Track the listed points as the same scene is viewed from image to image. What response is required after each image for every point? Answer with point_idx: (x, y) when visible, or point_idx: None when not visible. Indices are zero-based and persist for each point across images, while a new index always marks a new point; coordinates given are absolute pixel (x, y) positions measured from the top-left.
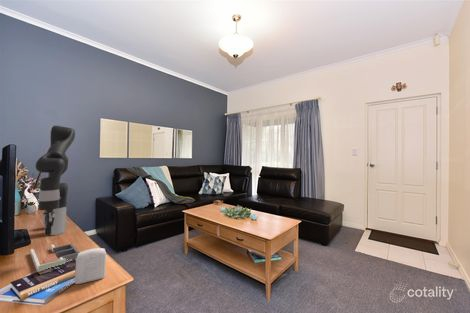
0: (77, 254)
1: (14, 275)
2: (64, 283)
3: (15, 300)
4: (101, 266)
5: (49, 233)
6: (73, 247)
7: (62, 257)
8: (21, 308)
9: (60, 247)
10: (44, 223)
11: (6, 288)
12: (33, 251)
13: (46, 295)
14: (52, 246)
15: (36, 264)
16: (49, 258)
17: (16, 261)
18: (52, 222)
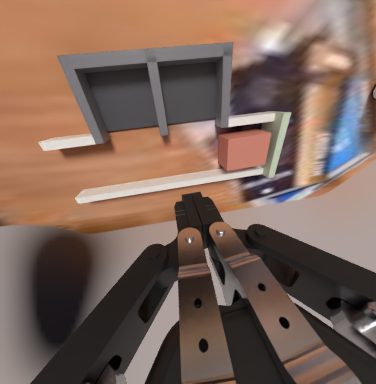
0: (230, 57)
1: (217, 202)
2: (348, 120)
3: (317, 187)
4: None
5: (208, 200)
6: (137, 59)
7: (228, 117)
8: (348, 178)
9: (95, 116)
10: (173, 281)
11: (264, 203)
12: (109, 194)
13: (353, 151)
14: (75, 145)
15: (228, 179)
16: (237, 156)
17: (133, 212)
18: (330, 260)
